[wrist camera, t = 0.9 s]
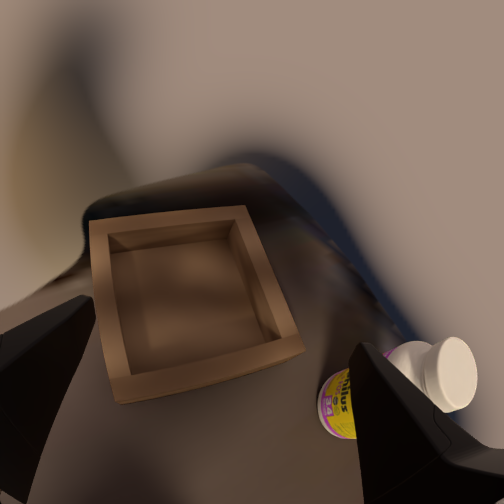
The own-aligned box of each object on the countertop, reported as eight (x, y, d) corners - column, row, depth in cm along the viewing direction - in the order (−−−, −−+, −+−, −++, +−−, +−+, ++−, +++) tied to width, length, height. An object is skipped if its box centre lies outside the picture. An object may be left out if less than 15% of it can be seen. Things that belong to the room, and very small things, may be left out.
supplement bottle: (334, 358, 26) (438, 301, 15) (381, 392, 25) (488, 352, 15) (300, 418, 22) (415, 395, 11) (354, 450, 21) (474, 437, 11)
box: (285, 361, 24) (306, 350, 21) (121, 404, 18) (115, 401, 15) (234, 229, 30) (245, 205, 27) (94, 246, 24) (89, 221, 21)
